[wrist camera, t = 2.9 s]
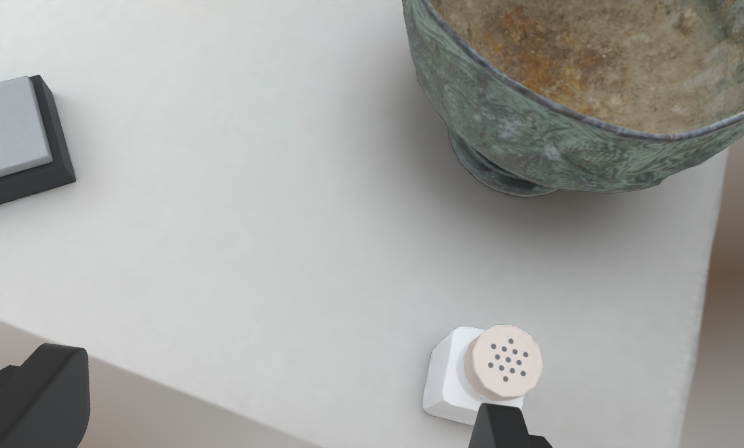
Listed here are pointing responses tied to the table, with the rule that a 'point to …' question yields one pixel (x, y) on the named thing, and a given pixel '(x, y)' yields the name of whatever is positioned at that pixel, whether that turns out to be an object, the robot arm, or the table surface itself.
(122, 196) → the table surface
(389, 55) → the table surface
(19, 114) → the kitchen scale
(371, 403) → the table surface
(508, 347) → the salt shaker
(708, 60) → the bowl
